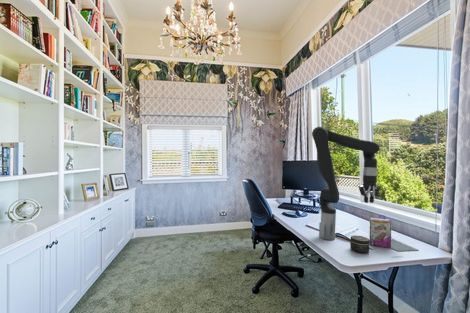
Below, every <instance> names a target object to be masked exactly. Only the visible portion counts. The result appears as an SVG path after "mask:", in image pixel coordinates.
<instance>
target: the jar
mask: <svg viewBox="0 0 470 313" xmlns="http://www.w3.org/2000/svg"><path fill="white" fill-rule="evenodd" d="M369 239H370V238H368V237H365V236H362V235H356V234H355V235H351V236H350V240H349V241H350V244H349V245H350V247H349V248H350V250H351V251H352V252H354V253H355V254H356V253H357V254H361V255H367V254H368V253H369V252H370V246H371V245H370V240H369Z"/></svg>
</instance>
